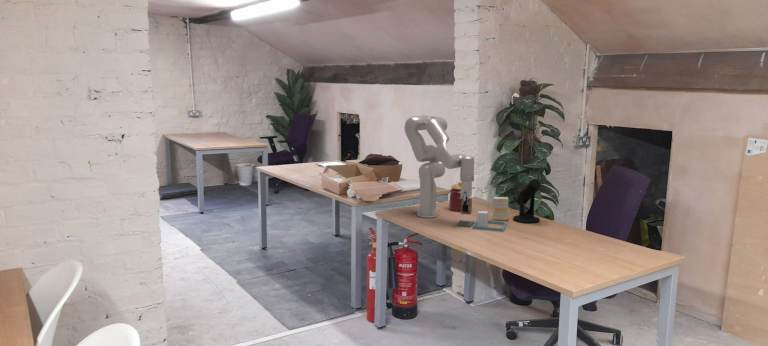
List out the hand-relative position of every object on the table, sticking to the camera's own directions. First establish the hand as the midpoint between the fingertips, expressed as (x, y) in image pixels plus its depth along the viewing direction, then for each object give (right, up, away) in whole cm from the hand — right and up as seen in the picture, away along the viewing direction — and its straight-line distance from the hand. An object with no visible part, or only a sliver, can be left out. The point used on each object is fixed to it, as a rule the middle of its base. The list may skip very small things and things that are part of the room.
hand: (466, 210), depth 309 cm
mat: (0, -8, +2) cm, 8 cm away
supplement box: (+22, -7, +13) cm, 26 cm away
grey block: (+9, -9, -1) cm, 12 cm away
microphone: (+36, -7, +11) cm, 39 cm away
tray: (+12, -9, -3) cm, 16 cm away
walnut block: (0, -2, 0) cm, 2 cm away
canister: (+1, -2, +37) cm, 37 cm away
